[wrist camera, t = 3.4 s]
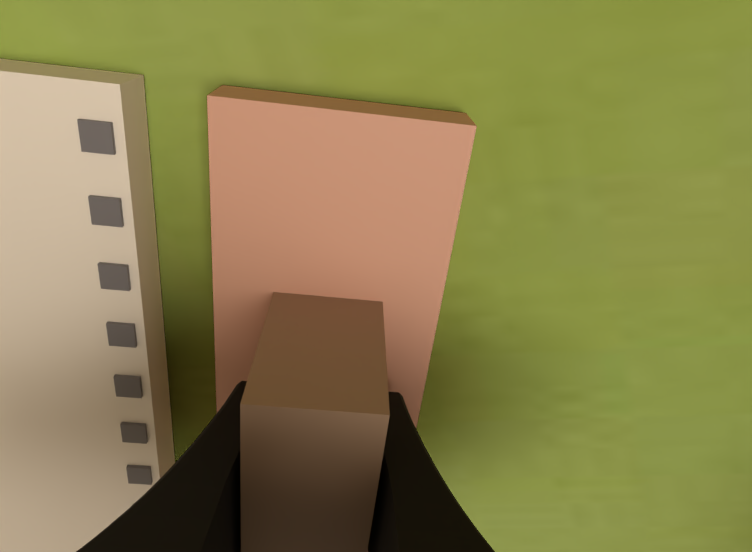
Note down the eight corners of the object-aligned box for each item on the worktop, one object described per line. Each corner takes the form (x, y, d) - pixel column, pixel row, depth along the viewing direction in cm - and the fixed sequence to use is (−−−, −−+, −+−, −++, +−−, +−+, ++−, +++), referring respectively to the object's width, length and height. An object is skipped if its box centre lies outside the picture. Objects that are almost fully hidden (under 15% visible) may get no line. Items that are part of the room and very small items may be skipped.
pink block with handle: (384, 547, 18) (390, 721, 13) (230, 538, 17) (187, 715, 13) (465, 113, 11) (528, 188, 7) (222, 84, 11) (132, 146, 7)
